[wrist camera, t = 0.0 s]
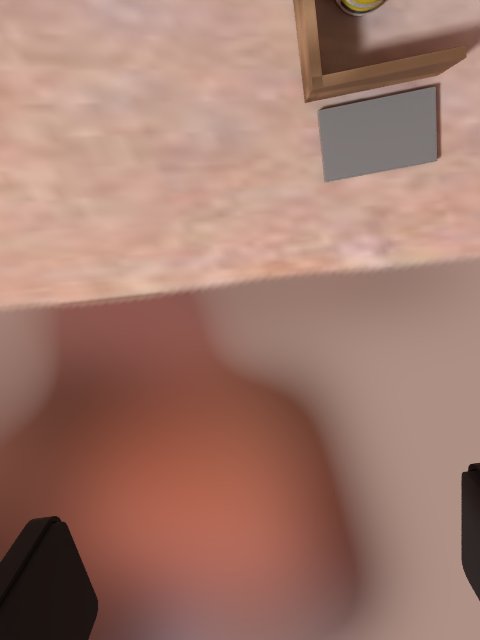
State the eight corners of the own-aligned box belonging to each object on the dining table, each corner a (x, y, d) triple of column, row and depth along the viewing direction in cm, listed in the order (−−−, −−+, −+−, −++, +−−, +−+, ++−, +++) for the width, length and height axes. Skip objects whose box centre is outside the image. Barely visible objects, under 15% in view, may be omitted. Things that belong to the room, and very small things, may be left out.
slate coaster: (317, 111, 34) (318, 110, 33) (432, 88, 33) (435, 86, 32) (324, 182, 36) (325, 182, 35) (433, 161, 35) (437, 161, 34)
